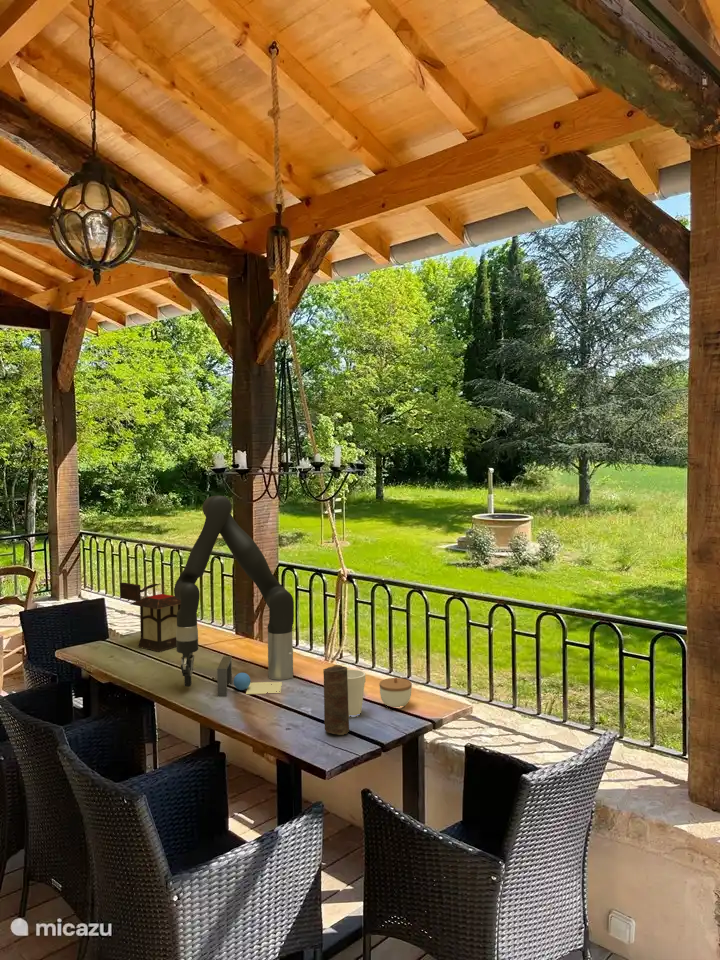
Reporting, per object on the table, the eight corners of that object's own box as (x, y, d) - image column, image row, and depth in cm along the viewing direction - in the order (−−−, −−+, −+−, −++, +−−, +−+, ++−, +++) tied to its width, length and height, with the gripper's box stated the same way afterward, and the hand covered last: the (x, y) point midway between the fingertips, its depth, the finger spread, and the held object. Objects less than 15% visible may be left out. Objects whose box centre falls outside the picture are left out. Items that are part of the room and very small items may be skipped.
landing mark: (282, 682, 260) (282, 681, 260) (280, 693, 248) (280, 692, 248) (249, 683, 259) (249, 682, 259) (245, 694, 247) (245, 693, 247)
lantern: (115, 652, 301) (114, 582, 300) (164, 638, 322) (162, 573, 321) (143, 659, 291) (142, 586, 289) (191, 644, 312) (190, 577, 311)
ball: (242, 689, 255) (254, 678, 255) (240, 696, 249) (253, 684, 249) (231, 678, 255) (243, 666, 255) (228, 684, 249) (241, 672, 249)
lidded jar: (378, 700, 240) (378, 673, 239) (409, 699, 240) (409, 672, 240) (381, 712, 229) (380, 683, 229) (413, 711, 230) (413, 682, 229)
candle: (329, 739, 208) (328, 671, 207) (320, 730, 214) (319, 665, 214) (353, 734, 211) (352, 668, 210) (343, 726, 218) (343, 661, 217)
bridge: (231, 682, 260) (231, 656, 260) (226, 696, 245) (225, 668, 245) (223, 682, 260) (223, 656, 260) (217, 696, 245) (217, 668, 245)
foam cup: (340, 720, 222) (339, 679, 222) (333, 710, 231) (333, 670, 231) (369, 717, 225) (369, 676, 224) (361, 707, 234) (361, 668, 233)
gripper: (194, 642, 245) (195, 692, 245) (201, 632, 258) (201, 679, 259) (172, 642, 244) (173, 692, 245) (180, 633, 258) (181, 680, 258)
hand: (188, 685), depth 252 cm, fingers closed
